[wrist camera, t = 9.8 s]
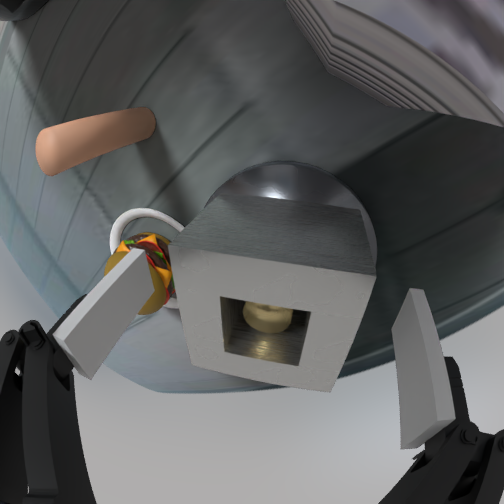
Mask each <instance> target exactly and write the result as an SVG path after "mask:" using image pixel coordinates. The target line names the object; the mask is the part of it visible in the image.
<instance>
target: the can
mask: <svg viewBox="0 0 504 504" xmlns="http://www.w3.org/2000/svg"><path fill="white" fill-rule="evenodd" d="M285 2H286V4H287V7H288V9H289V11H290V14H291V16H292V18H293V21H294V22H295V23H296V25H297V26H298V27H299V29H300V30H301V32H302V33H303V35H304V36H305V37H306V39H307V40H308V42H309V43H310V45H311V46H312V48H313V49H314V51H315V53H316V54H317V56H318V57H319V59H320V60H321V62H322V64H323V65H324V67H325V69H326V70H327V72H328V73H330V74H332V75H334V76H336V77H338V78H340V79H341V80H343V81H345V82H347V83H349V84H351V85H352V86H354V87H356V88H358V89H359V90H361V91H363V92H365V93H366V94H368V95H370V96H371V97H373V98H375V99H376V100H378V101H379V102H381V103H382V104H384V105H386V106H387V107H398V108H407V109H416V110H423V111H430V112H437V113H443V114H448V115H454V116H459V117H464V118H468V119H473V120H477V121H481V122H485V123H489V124H493V125H497V126H500V127H504V0H285Z"/></svg>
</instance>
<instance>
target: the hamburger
mask: <svg viewBox="0 0 504 504" xmlns="http://www.w3.org/2000/svg"><path fill="white" fill-rule="evenodd" d="M140 217H153V218H156V219H160V220H162V221H164V222H166V223H168V224H170V225H171V226H173V227H174V228H176V229H177V230H178V231H179V232H181V231H182V230H183V229H184V228H185V227H184V226H183V225H181V224H180V223H179V222H177V221H176V220H175V219H173V218H172V217H170V216H168V215H166V214H164V213H162V212H160V211H156V210H153V209H148V208H136V209H131V210H129V211H127V212H125V213H123V214H122V215H121V216H119V217H118V218H117V220H116V221H115V223H114V225H113V227H112V230H111V234H110V249H111V254H112V255H111V257H110V258H109V259H108V261H107V264H106V267H105V272H104V277H105V276H106V275H107V274H108V273H109V272H110V271H111V270H112V269H113V268H114V267H115V266H116V265H117V264H118V263H119V262H120V261H121V260H122V259H123V258H124V257H125V256H126V255H127V254H128V253H129V252H130V251H131V250H132V249H133V248H136V249H142V250H145V253H146V257H147V262H148V266H149V270H150V274H151V278H152V282H153V286H154V290H155V291H154V292H153V294H152V295H151V296H150V298H149V299H148V300H147V302H146V303H145V304H144V306H143V307H142V308H141V310H140V311H139V312H138V315H148V314H152V313H154V312H156V311H158V310H159V309H160V308H161V307H162V306H163V307H167V308H176V309H178V308H179V306H178V301H177V298H170V297H171V295H172V294H173V293H174V292H175V291H176V290H175V285H174V279H173V274H172V268H171V262H170V256H169V249H168V244H169V243H170V241H169V240H167V239H166V238H164V237H163V236H161V235H158V234H155V233H151V232H144V233H140V234H137V235H134V236H132V237H130V238H128V239H127V240H124V241H122V242H121V244H120V239H121V234H122V231H123V229H124V228H125V226H126V225H127V224H128V223H129V222H130V221H131V220H134V219H136V218H140Z"/></svg>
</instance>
